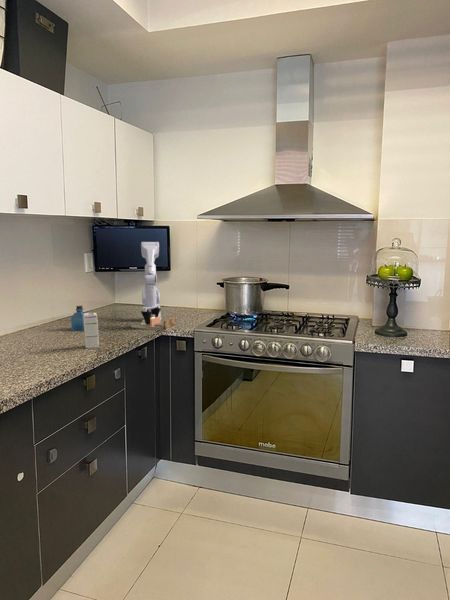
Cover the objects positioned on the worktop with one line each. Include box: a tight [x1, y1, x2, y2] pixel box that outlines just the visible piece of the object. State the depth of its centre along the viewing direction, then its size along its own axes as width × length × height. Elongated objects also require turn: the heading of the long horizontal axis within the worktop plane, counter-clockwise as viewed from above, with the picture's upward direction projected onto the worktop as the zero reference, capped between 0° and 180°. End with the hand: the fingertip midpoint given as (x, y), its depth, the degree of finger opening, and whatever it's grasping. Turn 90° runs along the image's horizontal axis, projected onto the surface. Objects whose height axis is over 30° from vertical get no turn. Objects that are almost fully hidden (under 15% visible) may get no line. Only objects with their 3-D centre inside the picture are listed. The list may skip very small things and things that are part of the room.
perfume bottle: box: [70, 305, 87, 332], centre depth 231 cm, size 6×6×12 cm
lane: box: [130, 316, 177, 332], centre depth 238 cm, size 12×20×5 cm, turn 70°
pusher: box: [150, 317, 164, 327], centre depth 237 cm, size 9×5×4 cm, turn 160°
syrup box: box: [83, 312, 100, 349], centre depth 197 cm, size 6×6×14 cm
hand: (151, 322), depth 239 cm, fingers open, 7 cm apart
